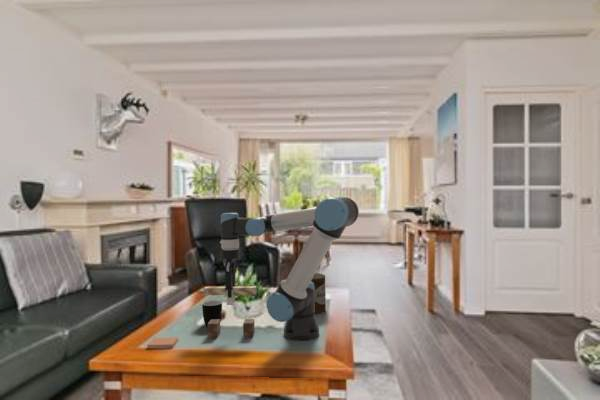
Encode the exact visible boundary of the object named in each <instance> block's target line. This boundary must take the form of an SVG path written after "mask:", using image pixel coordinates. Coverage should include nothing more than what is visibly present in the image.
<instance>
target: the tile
mask: <svg viewBox="0 0 600 400" xmlns="http://www.w3.org/2000/svg"><path fill="white" fill-rule="evenodd" d="M178 342H179V337H178V336H177V337H176V336H175V337H174V336H173V337H172V336H171V337H153V338H152V339H151V340H150V341H149V342H148V343H147V344H146V348H157V349H173V348H174V347H175V346H176V344H177V343H178Z"/></svg>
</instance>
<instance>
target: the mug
mask: <svg viewBox="0 0 600 400" xmlns="http://www.w3.org/2000/svg"><path fill="white" fill-rule="evenodd" d="M201 305H202V307H201V308H202V317H203V323H204V325H205V326H206V327H208V323H209V321H210V320H211V319H220V322H221V320H222V313H223V302H222V301H221V300H216V299H215V300H207V301H204V302H202V303H201Z"/></svg>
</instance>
